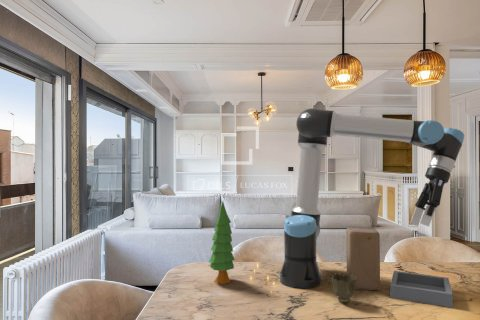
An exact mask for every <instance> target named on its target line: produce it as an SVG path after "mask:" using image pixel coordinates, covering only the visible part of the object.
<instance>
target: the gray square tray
mask: <svg viewBox="0 0 480 320" xmlns="http://www.w3.org/2000/svg"><path fill="white" fill-rule="evenodd" d="M391 276H392V277H391V281H390V293H389V294H390V297H389V298H391V299H396V300H402V301H403V300H404V301H407V302H409V301H410V302H415V303H421V304H427V305H432V306H438V307H439V306H440V307H444V308H445V307H446V308H451V309H453V306H454V304H453V299H454V298H453V296H454V295H453V291H452V287H451V282H450V279H449V277H445V276H437V275H429V274H423V273H417V272H416V273H414V272H407V271H398V270H393V274H392V275H391Z"/></svg>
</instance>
